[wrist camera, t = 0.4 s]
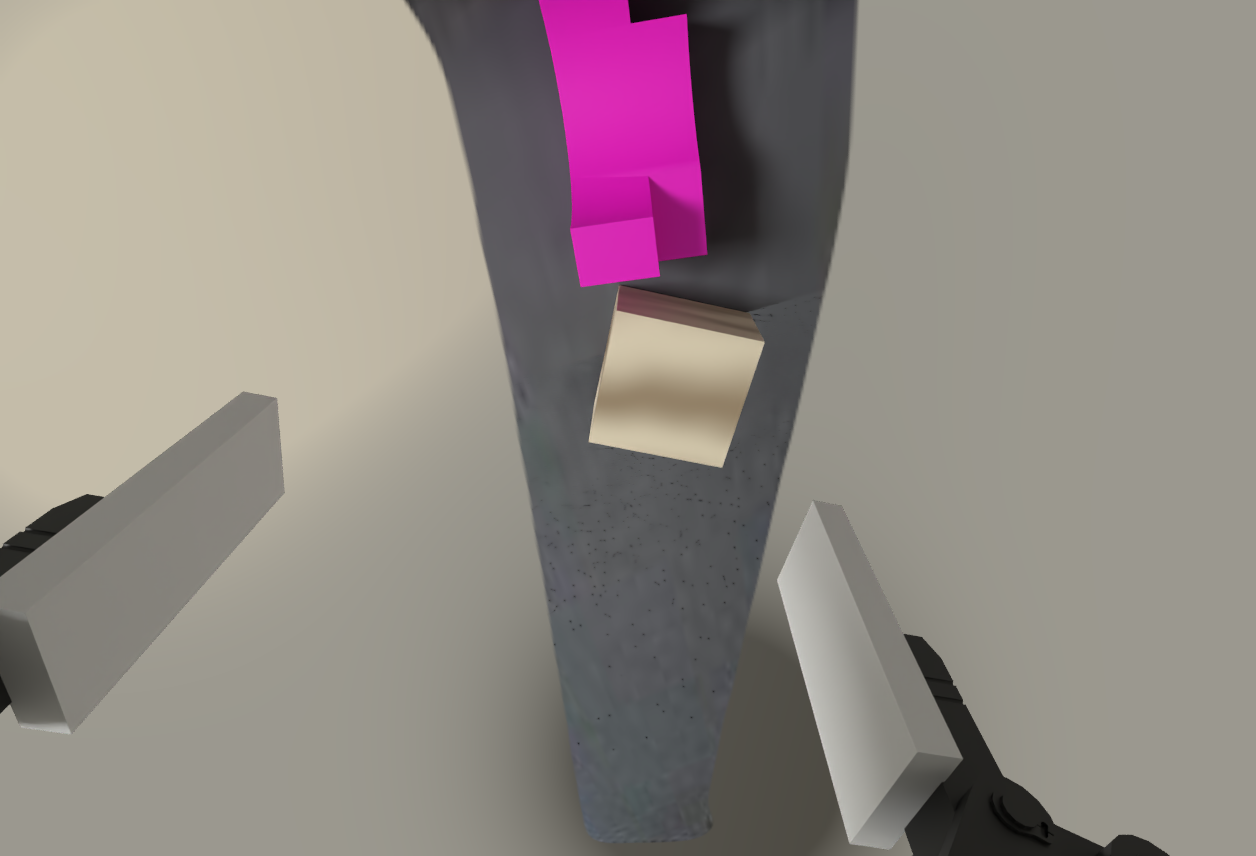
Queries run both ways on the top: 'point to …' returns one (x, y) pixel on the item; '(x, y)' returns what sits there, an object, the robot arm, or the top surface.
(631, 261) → the toy block
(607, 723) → the top surface
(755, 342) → the riser
